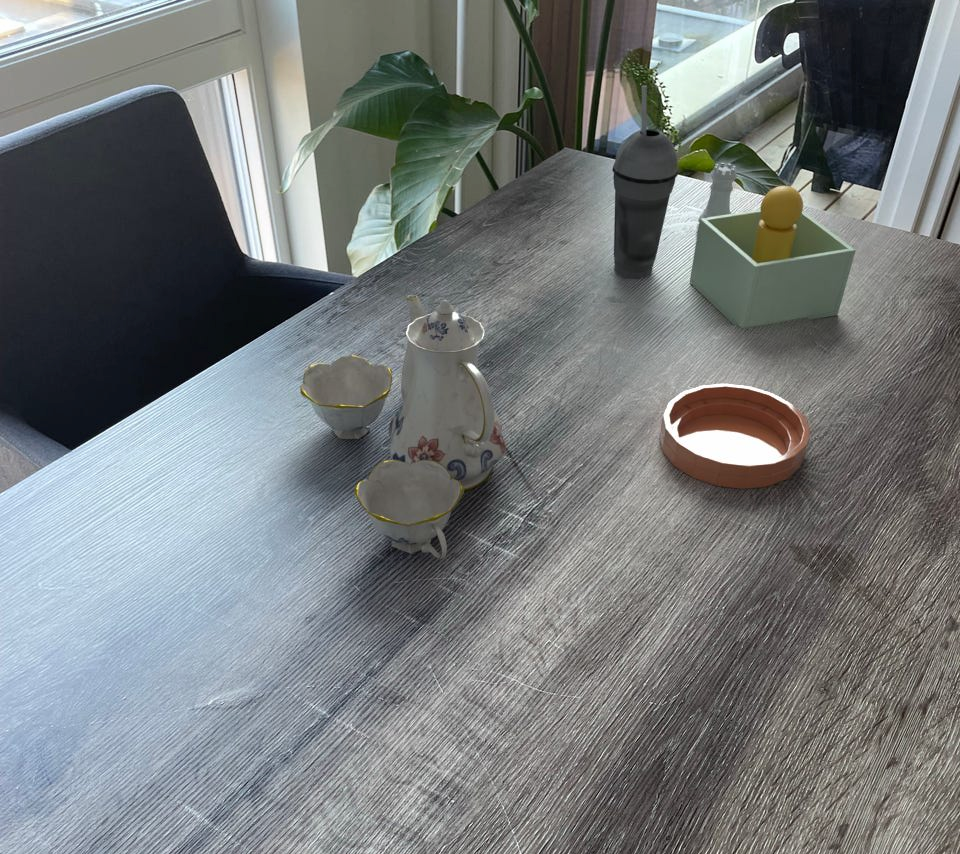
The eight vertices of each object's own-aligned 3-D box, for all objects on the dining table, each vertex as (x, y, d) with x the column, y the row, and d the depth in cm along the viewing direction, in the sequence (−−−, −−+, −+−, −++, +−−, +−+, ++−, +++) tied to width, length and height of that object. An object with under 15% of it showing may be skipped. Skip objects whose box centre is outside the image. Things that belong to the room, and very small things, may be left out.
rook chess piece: (712, 221, 132) (723, 156, 126) (739, 233, 129) (751, 168, 124) (688, 231, 130) (698, 165, 124) (715, 243, 127) (727, 177, 122)
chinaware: (284, 429, 101) (241, 272, 89) (436, 373, 105) (415, 216, 93) (402, 606, 84) (369, 442, 72) (578, 531, 88) (576, 364, 76)
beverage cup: (656, 288, 119) (683, 102, 105) (595, 278, 121) (613, 94, 106) (669, 261, 124) (696, 80, 110) (610, 251, 126) (629, 72, 111)
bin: (780, 267, 123) (795, 204, 118) (837, 315, 115) (856, 250, 110) (689, 282, 120) (699, 218, 115) (741, 332, 112) (755, 266, 107)
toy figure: (769, 282, 119) (793, 176, 111) (789, 299, 117) (815, 192, 108) (736, 288, 118) (757, 181, 110) (755, 306, 115) (778, 198, 107)
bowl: (755, 400, 103) (761, 373, 101) (830, 476, 94) (838, 449, 92) (635, 424, 100) (639, 397, 98) (701, 505, 91) (706, 478, 89)
